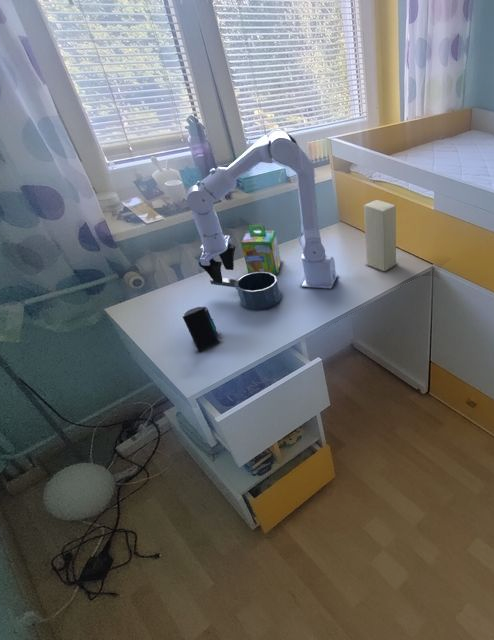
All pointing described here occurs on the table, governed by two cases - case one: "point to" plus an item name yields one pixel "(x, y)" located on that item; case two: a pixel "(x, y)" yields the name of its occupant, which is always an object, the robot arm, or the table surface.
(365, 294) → the table surface
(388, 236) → the tall cream block
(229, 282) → the saucepan
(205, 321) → the speaker
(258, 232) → the chalk box
